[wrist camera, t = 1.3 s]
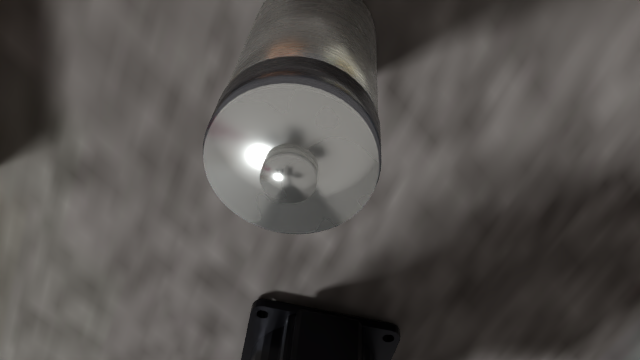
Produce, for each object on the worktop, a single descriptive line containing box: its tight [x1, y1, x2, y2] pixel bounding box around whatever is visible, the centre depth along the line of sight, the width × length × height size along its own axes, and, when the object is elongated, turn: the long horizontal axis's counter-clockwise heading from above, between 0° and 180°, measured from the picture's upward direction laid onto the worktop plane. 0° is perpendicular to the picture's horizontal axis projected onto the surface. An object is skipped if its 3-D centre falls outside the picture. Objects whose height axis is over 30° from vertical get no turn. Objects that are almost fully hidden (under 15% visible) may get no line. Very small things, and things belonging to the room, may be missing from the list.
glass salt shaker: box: [203, 0, 381, 234], centre depth 15 cm, size 4×4×8 cm
